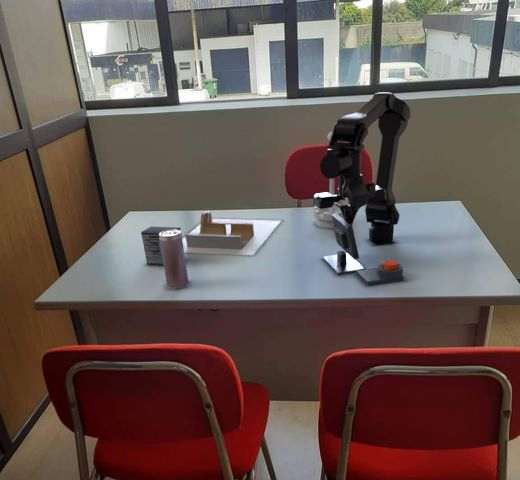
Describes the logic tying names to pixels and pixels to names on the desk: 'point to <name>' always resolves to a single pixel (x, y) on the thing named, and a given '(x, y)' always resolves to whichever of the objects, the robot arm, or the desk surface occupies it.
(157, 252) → the small box
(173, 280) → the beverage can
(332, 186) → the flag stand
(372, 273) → the console
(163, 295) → the desk surface
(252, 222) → the walled white board
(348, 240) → the screen
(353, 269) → the monitor stand
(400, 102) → the robot arm
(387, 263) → the power button
